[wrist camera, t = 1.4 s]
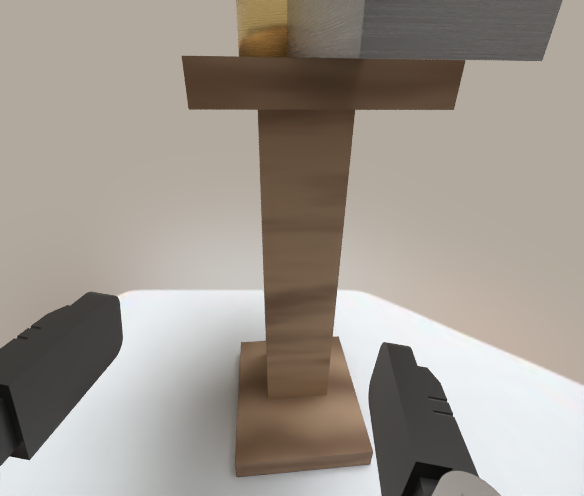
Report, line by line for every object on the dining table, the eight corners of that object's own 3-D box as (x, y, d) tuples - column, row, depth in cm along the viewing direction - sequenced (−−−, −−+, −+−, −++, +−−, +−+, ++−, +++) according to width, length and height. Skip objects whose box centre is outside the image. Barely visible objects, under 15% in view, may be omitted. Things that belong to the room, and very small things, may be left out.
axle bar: (680, 63, 6) (825, -216, 4) (190, 55, 5) (151, -287, 3) (355, 58, 24) (359, 6, 22) (241, 56, 23) (238, 3, 22)
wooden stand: (370, 464, 30) (465, 59, 14) (236, 477, 29) (181, 55, 13) (337, 348, 42) (369, 58, 27) (242, 354, 41) (216, 56, 25)
